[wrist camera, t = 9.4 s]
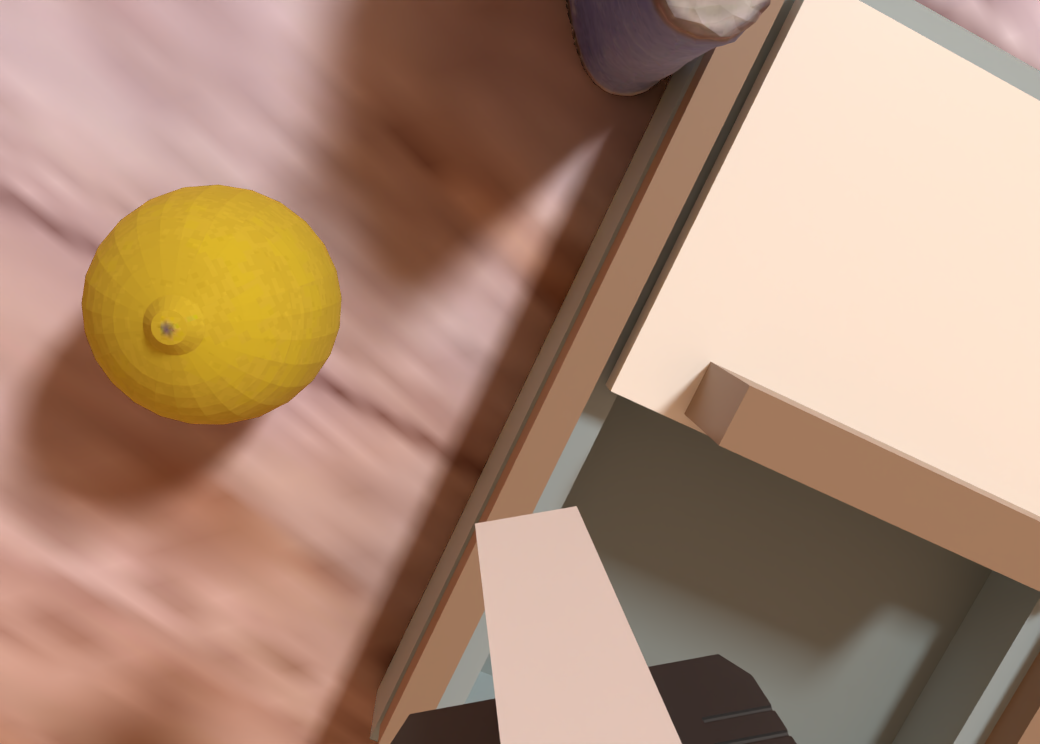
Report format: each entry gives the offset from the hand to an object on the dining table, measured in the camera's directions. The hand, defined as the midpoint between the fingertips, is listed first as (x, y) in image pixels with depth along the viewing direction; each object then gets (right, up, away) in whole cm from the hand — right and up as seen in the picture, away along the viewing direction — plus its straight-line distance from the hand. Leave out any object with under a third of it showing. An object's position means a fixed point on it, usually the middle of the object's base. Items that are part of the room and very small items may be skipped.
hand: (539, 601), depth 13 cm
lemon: (-8, +6, +12) cm, 15 cm away
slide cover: (+11, +5, +11) cm, 16 cm away
